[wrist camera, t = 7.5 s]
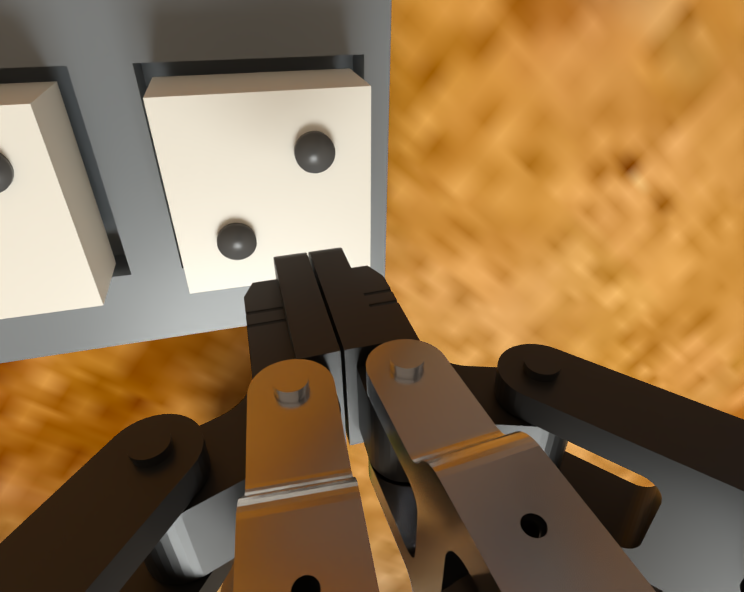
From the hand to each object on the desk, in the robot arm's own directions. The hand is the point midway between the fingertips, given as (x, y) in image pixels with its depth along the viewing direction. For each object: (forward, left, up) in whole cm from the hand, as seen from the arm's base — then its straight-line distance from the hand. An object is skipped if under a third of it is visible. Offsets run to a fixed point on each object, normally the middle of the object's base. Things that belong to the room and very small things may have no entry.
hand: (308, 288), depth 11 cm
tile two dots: (-1, 0, -7) cm, 6 cm away
